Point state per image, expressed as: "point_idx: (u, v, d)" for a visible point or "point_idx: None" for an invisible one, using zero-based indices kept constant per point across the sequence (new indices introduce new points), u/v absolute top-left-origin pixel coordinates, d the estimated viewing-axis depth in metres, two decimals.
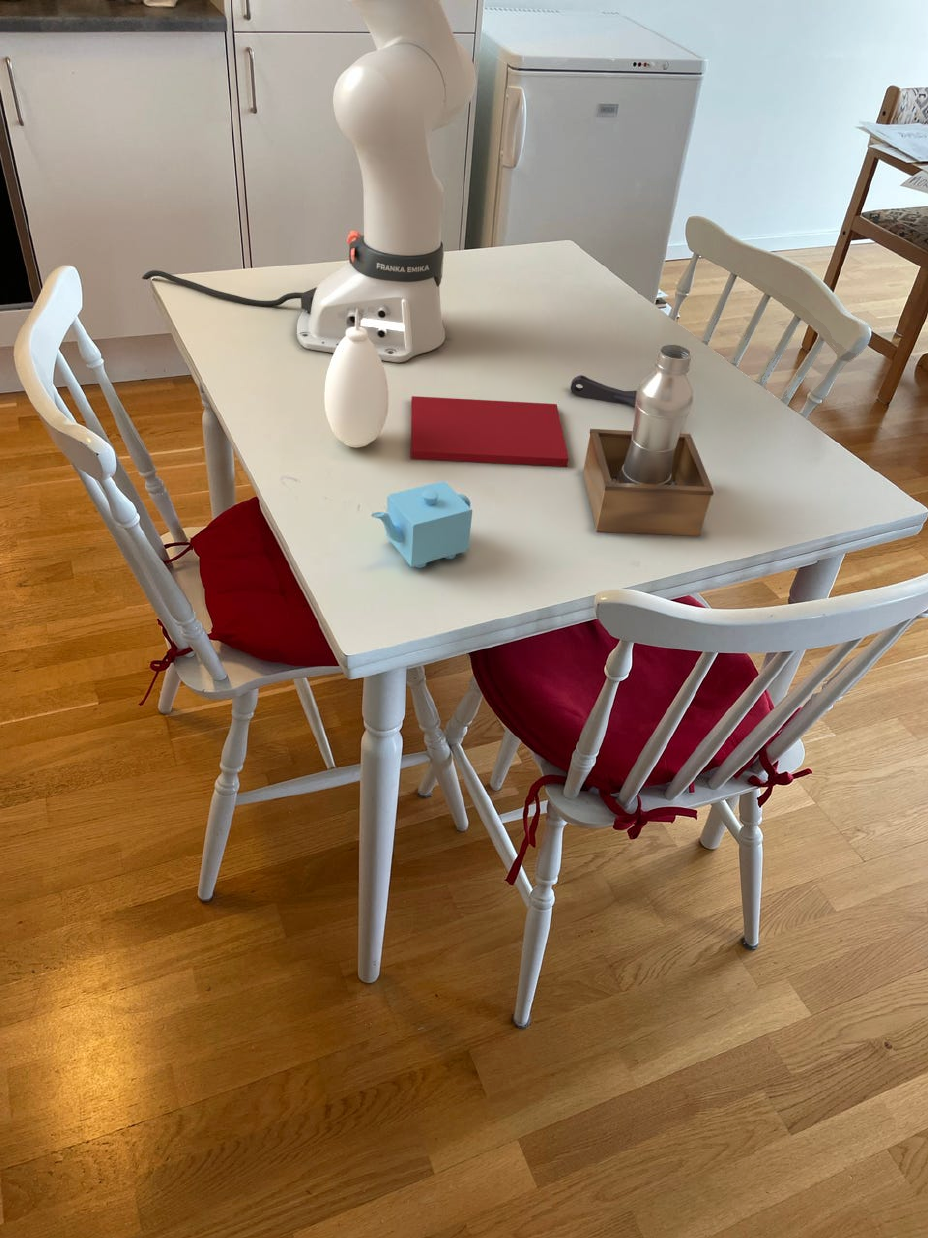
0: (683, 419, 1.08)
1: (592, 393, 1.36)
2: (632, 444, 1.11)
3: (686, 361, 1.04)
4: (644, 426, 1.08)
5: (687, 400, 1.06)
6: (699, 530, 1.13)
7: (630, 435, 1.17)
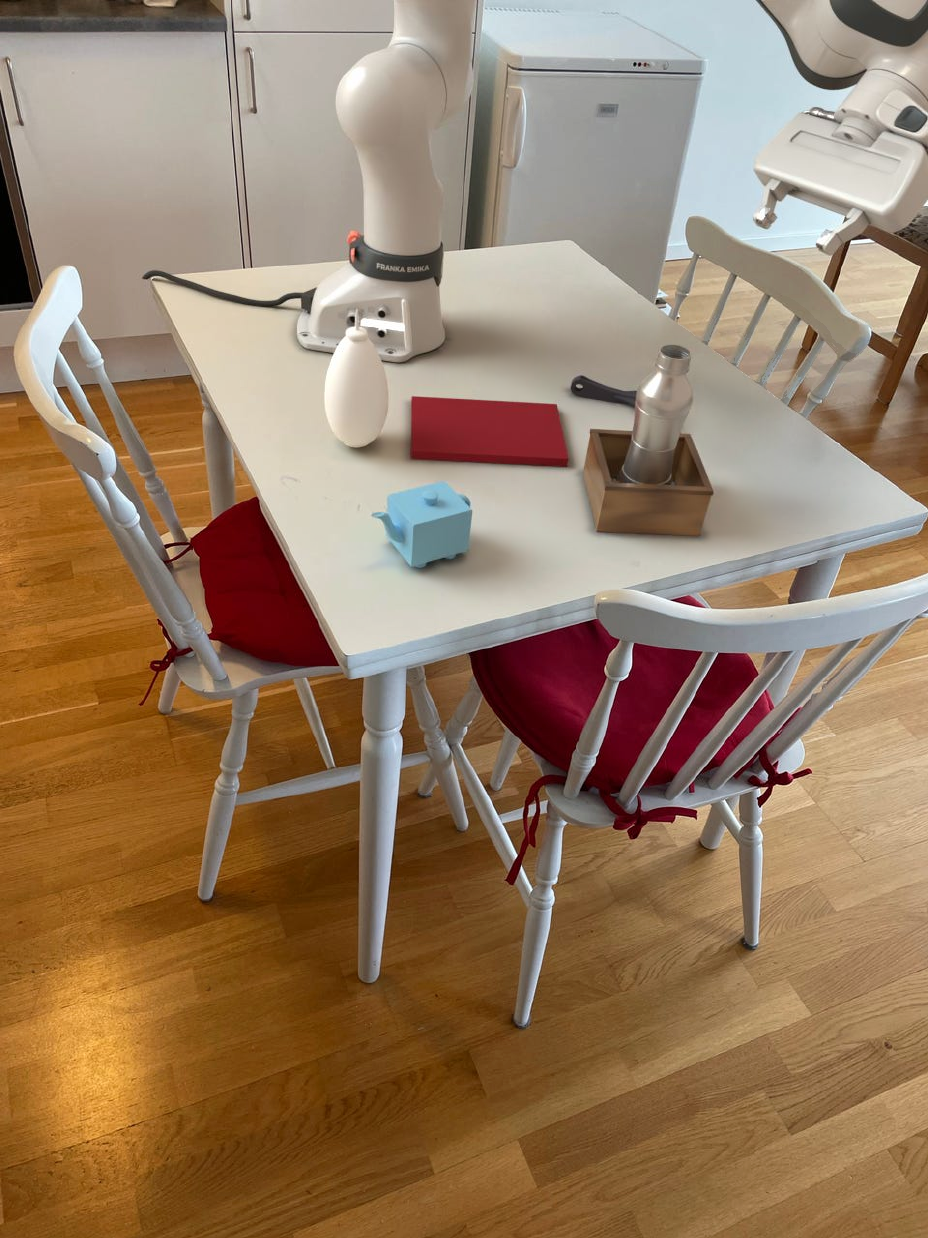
0: (683, 419, 1.08)
1: (592, 393, 1.36)
2: (632, 444, 1.11)
3: (686, 361, 1.04)
4: (644, 426, 1.08)
5: (687, 400, 1.06)
6: (699, 530, 1.13)
7: (630, 435, 1.17)
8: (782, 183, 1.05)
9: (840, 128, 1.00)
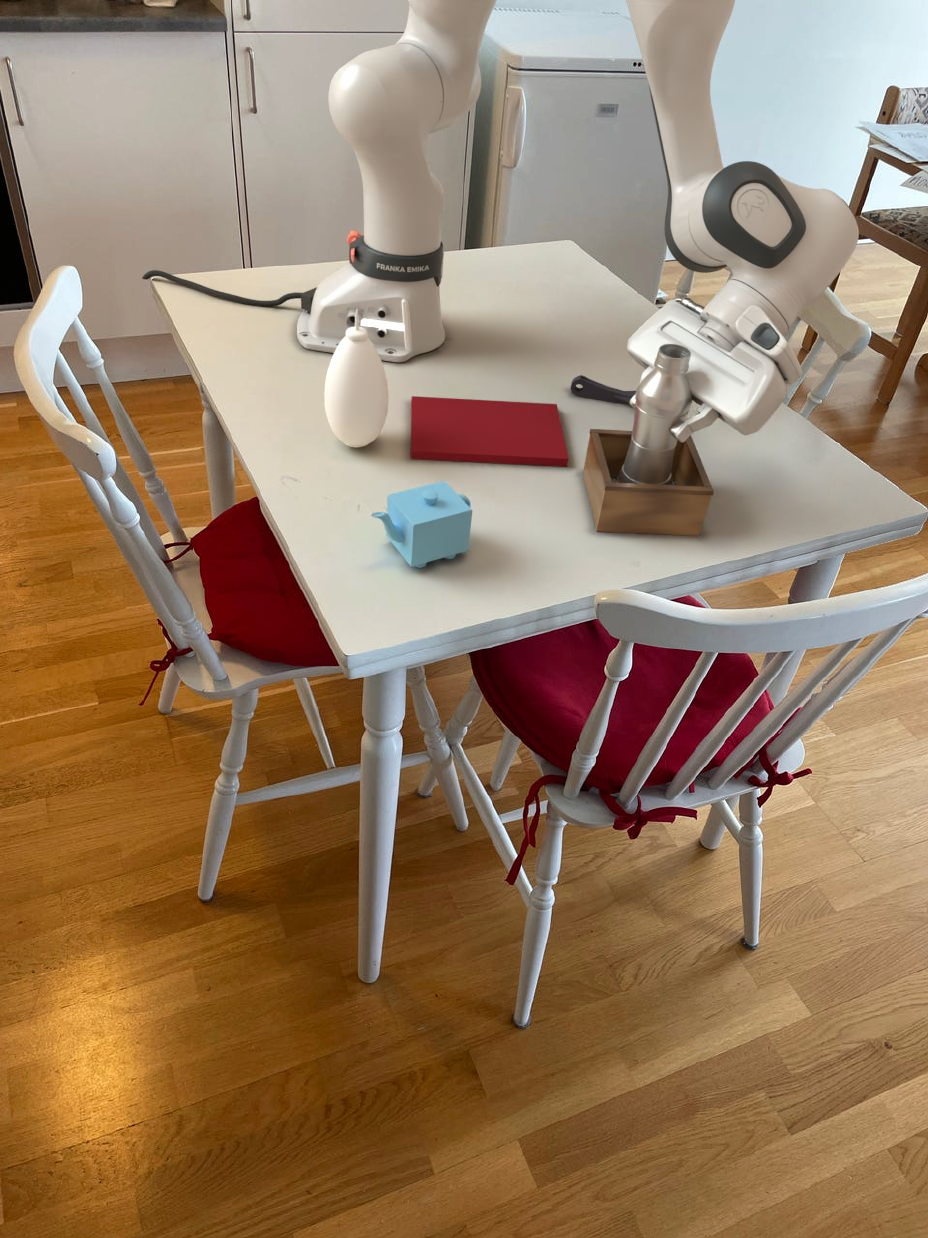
0: (683, 418, 1.08)
1: (592, 393, 1.36)
2: (632, 444, 1.11)
3: (685, 360, 1.04)
4: (644, 426, 1.08)
5: (686, 399, 1.06)
6: (699, 530, 1.13)
7: (630, 435, 1.17)
8: None
9: (704, 329, 1.07)
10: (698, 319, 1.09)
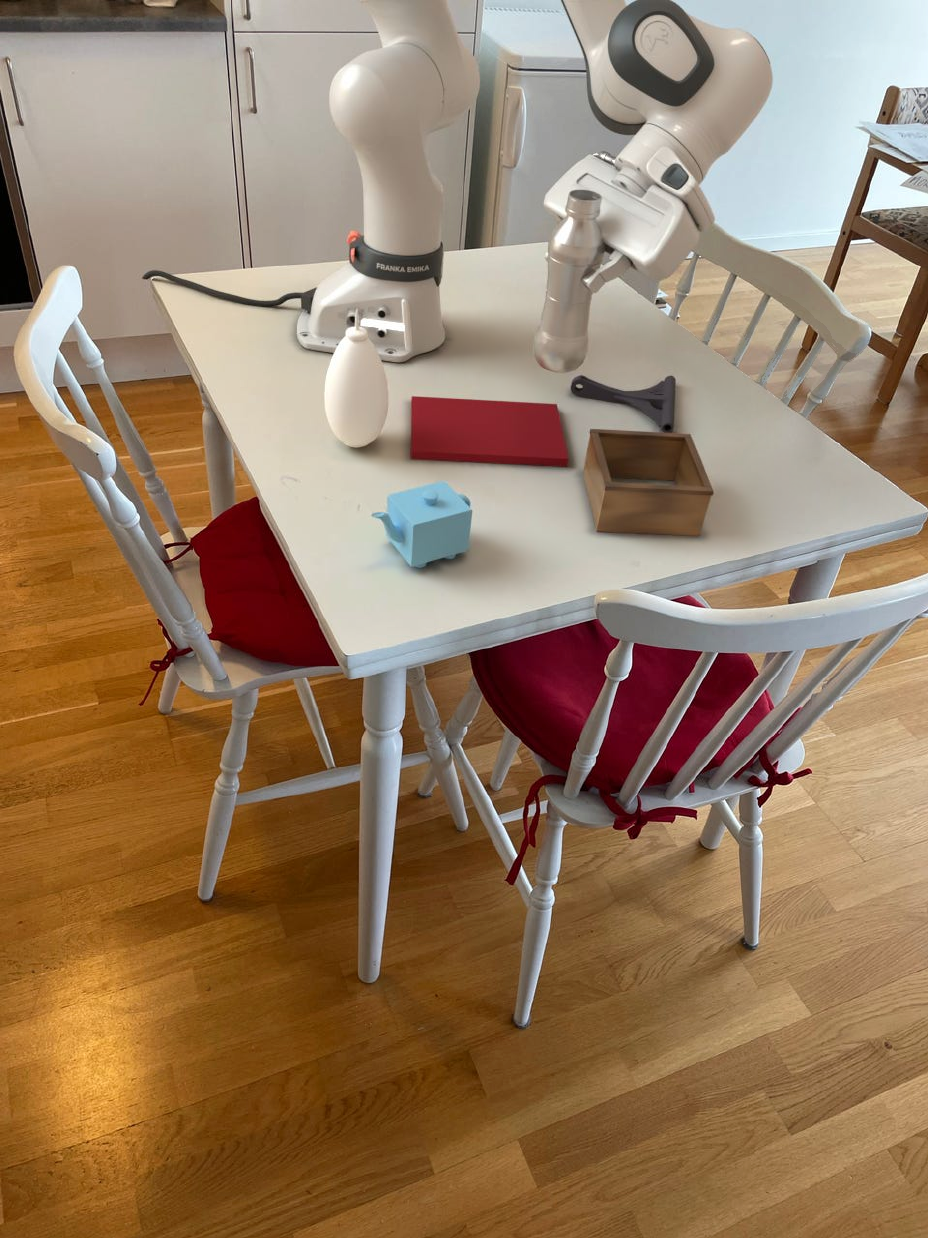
0: (595, 268, 1.06)
1: (592, 393, 1.36)
2: (546, 299, 1.10)
3: (595, 203, 1.02)
4: (556, 276, 1.06)
5: (598, 246, 1.04)
6: (699, 530, 1.13)
7: (630, 435, 1.17)
8: None
9: (617, 176, 1.05)
10: (613, 169, 1.07)
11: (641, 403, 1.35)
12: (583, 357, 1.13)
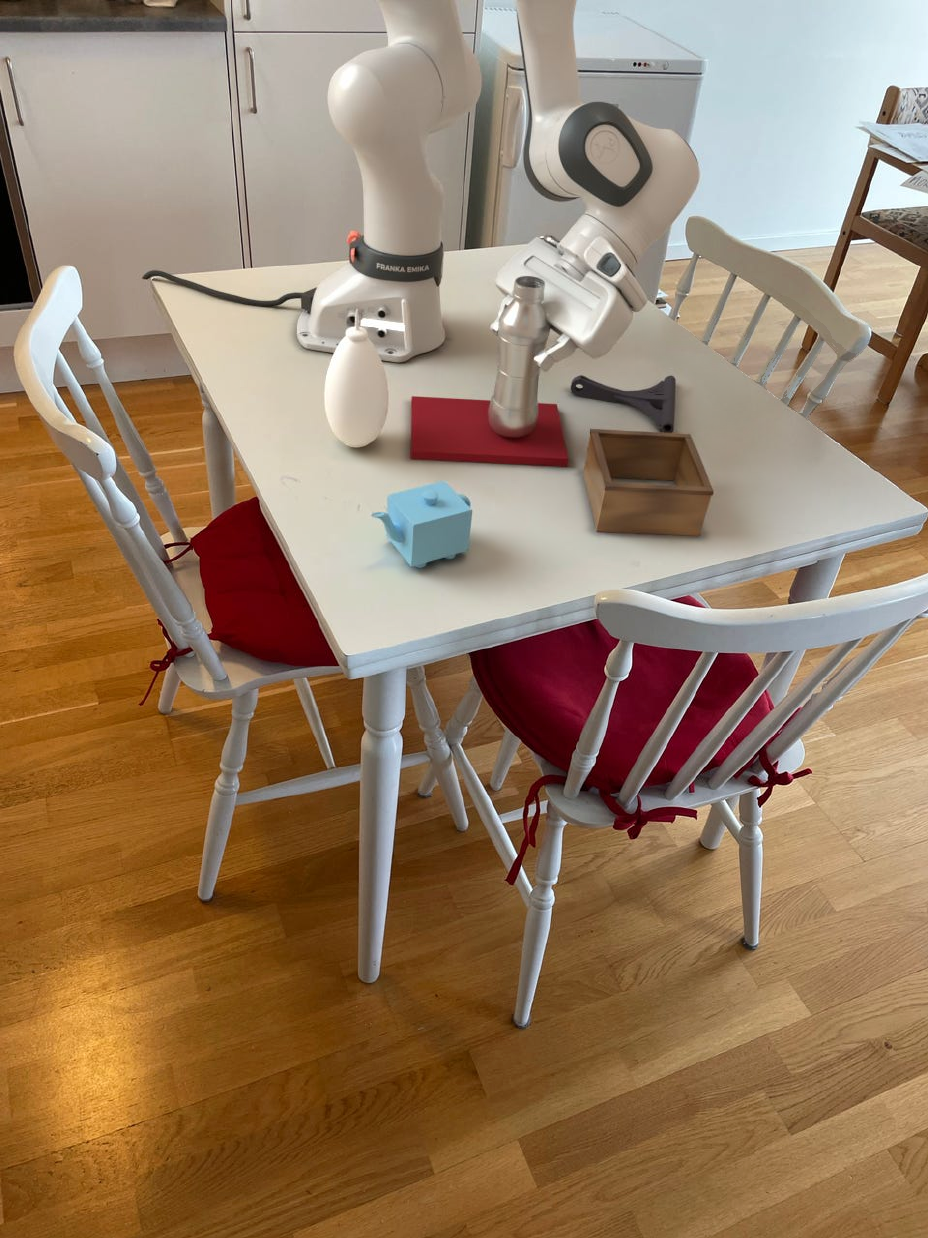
0: (541, 346, 1.16)
1: (592, 393, 1.36)
2: (498, 372, 1.19)
3: (538, 289, 1.12)
4: (505, 353, 1.16)
5: (543, 327, 1.14)
6: (699, 530, 1.13)
7: (630, 435, 1.17)
8: None
9: (559, 261, 1.15)
10: (556, 253, 1.17)
11: (641, 403, 1.35)
12: (533, 423, 1.23)
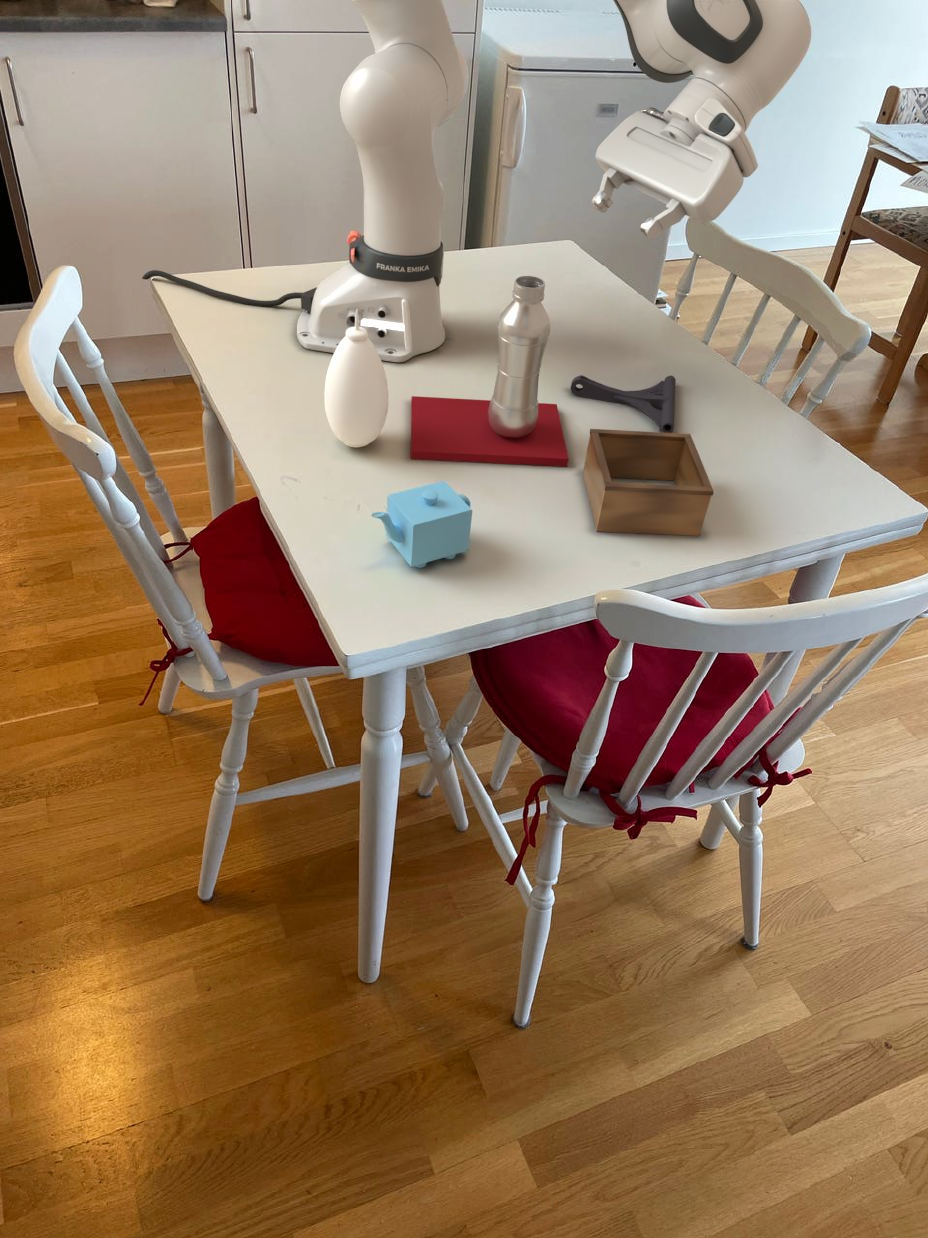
0: (541, 346, 1.16)
1: (592, 393, 1.36)
2: (498, 372, 1.19)
3: (539, 290, 1.12)
4: (505, 353, 1.16)
5: (543, 327, 1.14)
6: (699, 530, 1.13)
7: (630, 435, 1.17)
8: (618, 172, 1.18)
9: (666, 127, 1.13)
10: (661, 122, 1.15)
11: (641, 403, 1.35)
12: (533, 423, 1.23)
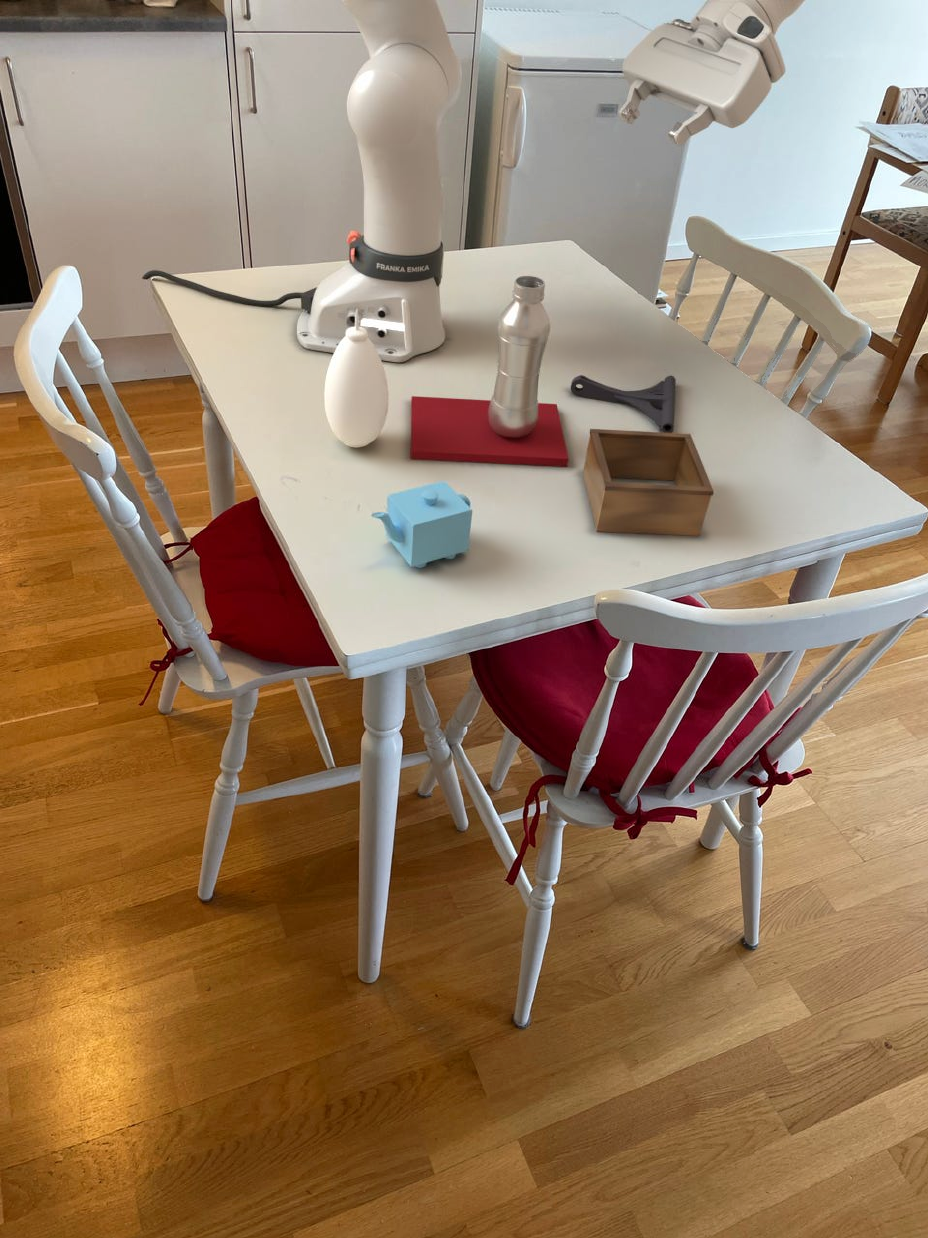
0: (541, 346, 1.16)
1: (592, 393, 1.36)
2: (498, 372, 1.19)
3: (539, 290, 1.12)
4: (505, 353, 1.16)
5: (543, 327, 1.14)
6: (699, 530, 1.13)
7: (630, 435, 1.17)
8: (645, 83, 1.19)
9: (694, 34, 1.14)
10: (689, 30, 1.17)
11: (641, 403, 1.35)
12: (533, 423, 1.23)
